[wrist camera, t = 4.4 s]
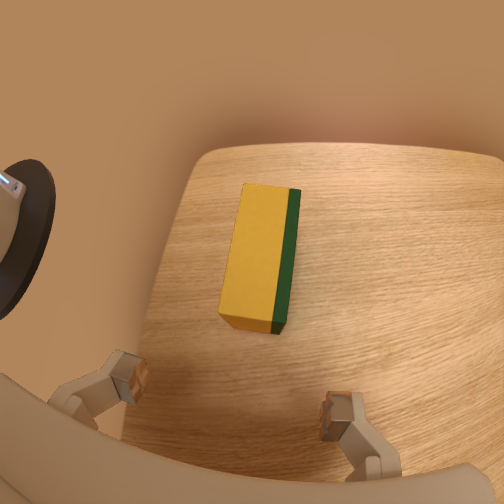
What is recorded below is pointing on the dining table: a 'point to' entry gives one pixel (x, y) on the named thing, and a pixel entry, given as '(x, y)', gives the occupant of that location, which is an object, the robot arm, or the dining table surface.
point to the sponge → (261, 259)
